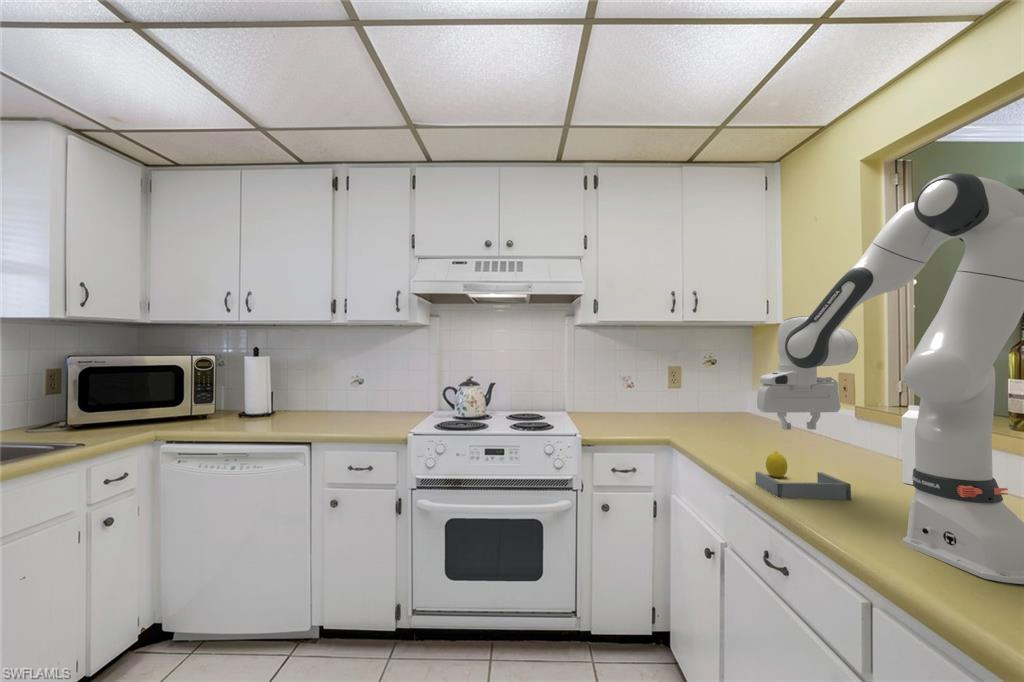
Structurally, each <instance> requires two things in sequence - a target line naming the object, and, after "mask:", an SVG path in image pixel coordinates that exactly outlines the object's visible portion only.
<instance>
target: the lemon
mask: <svg viewBox="0 0 1024 682" xmlns="http://www.w3.org/2000/svg"><path fill="white" fill-rule="evenodd" d="M765 468H766V471H767V473H768V474H769V475H770V476H772V477H773V478H776V479H779V478H781V477H784V476H785V475H786V474H787V472H788V462H787V460H786V458H785V456H783V455H782V454H781V453H779V452H778V451H774V452H772V453H770V454H769V455H768V456H767V458H766V461H765Z"/></svg>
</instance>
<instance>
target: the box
mask: <svg viewBox="0 0 1024 682" xmlns="http://www.w3.org/2000/svg"><path fill="white" fill-rule="evenodd" d="M816 474H817V475H816V476H817V482H782V481H781V482H780V481H778V480H777V479H774V477H773V478H772V477H770V476H769V475H767V474H765V473H763V472H761V471H755V484H756V485H757V484H758V485H759V487H760V486H761V487H760V488H762V489H763V488H764V489H763V490H765V489H766V490H767V491H766V490H765V491H766V492H768V493H769V492H770V493H769V494H771V493H772V494H771V495H773V496H774V495H775V496H774V497H776V496H777V497H780V498H779V499H782V498H781V497H784V498H783V499H798V498H803V500H805V499H806V500H809V499H810V500H832V501H833V500H835V501H852V491H851V490H852V488H851V487H852V484H851V483H849V482H847V481H844V480H841V479H839V478H836V477H834V476H832V475H829V474H827V473H824V472H822V471H821V472H820V471H819V472H816ZM758 485H757V486H758ZM777 497H776V498H777ZM785 497H786V498H785Z"/></svg>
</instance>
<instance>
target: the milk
mask: <svg viewBox="0 0 1024 682" xmlns="http://www.w3.org/2000/svg"><path fill="white" fill-rule="evenodd" d="M919 407H920V405H912V404H909V405H908V410H907V411H906V412H905V413H904V414H903V415H902V416H901V448H902V449H901V450H902V451H901V452H902V455H901V456H902V483H904V484H907V485H910V486H911V485H912V486H913V479H912V475H913V469H914V468H916V463H915V427H916V424H917V419H918V414H919Z"/></svg>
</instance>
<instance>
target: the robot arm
mask: <svg viewBox="0 0 1024 682" xmlns="http://www.w3.org/2000/svg"><path fill="white" fill-rule="evenodd" d="M952 239H958V240H960V241H961V242H964V244H965V248H964V249H965V250H964V254H963V256H962V258H961V261H960V263H959V265H958V267H957V269H956V272H955V273H954V276H953V278H952V281H951V283H950V285H949V288H948V290H947V292H946V294H945V297H944V299H943V301H942V302H941V303H942V304H941V305H940V307H939V310H938V311H937V313H936V315H935V317H934V318H933V320H932V321H931V323H930V325H929V326H928V328H927V329H926V331H925V332H924V334H923V336H922V338H921V339H920V341H919V342H918V344H917V346H916V348H915V350H914V351H913V354H912V355H911V357H910V359H909V360H908V362H907V364H906V365H905V368H904V370H903V377H904V378H903V379H904V383H905V384H906V386H907V388H908V389H909V390H910V392H912V393H913V394H914V395H915V396H916V397H918V398H920V400H919V406H920V407H919V414H918V419H917V424H916V427H915V463H916V468H914V469H913V475H912V479H913V485H912V486H913V487H914V488H915V489H914V495H913V497H912V500H911V501H910V504H909V512H908V521H907V522H908V523H907V530H906V531H907V532H906V536H905V537H903V538H902V542H901V544H902V545H903V544H904V545H903V546H905V545H906V547H907V546H908V548H910V547H911V548H910V549H912V548H913V549H912V550H914V549H915V551H917V552H919V553H921V554H924V555H927V556H929V557H931V558H934V559H936V560H939V561H941V562H944V563H946V564H948V565H949V566H953V567H955V568H957V569H960V570H963V571H965V572H967V573H970V574H972V575H974V576H977V577H980V578H981V579H985V580H990V581H996V582H1002V583H1008V584H1019V585H1024V521H1023V520H1022V519H1020V518H1019V517H1018V515H1016V514H1015V512H1013V511H1012V510H1011V509H1010V508H1009V507H1008V506H1007V505H1006V504H1005V503H1004V502H1003V501H1004V497H1003V495H1005V496H1008V495H1009V493H1007V492H1004V491H1008V490H1009V488H1007V487H1000V486H999V485H998V482H997V480H996V479H995V478H994V476H993V474H994V473H993V445H992V443H993V442H992V441H993V439H992V438H993V437H992V436H993V435H992V434H993V423H994V411H995V396H996V395H995V393H996V370H995V369H996V368H995V366H994V364H995V362H996V360H997V358H998V356H999V354H1000V353H1001V351H1002V350H1003V348H1004V347H1005V345H1006V344H1007V342H1008V340H1009V338H1010V337H1011V335H1012V334H1013V332H1014V331H1015V330H1016V327H1017V326H1018V324H1019V322H1020V320H1021V318H1022V316H1023V314H1024V191H1022V190H1019V189H1015V188H1012V187H1010V186H1009V185H1006V184H1004V183H1002V182H1001V181H998V180H994V179H990V178H987V177H982V176H981V177H980V176H976V175H974V174H971V173H964V172H962V173H961V172H957V173H956V172H954V173H953V172H952V173H946V174H942V175H939V176H937V177H935V178H934V179H932V180H930V181H928V182H927V183H926V184H925V185H924V186H923V187H922V188H921V189H920V191H919V192H918V194H917V196H916V198H915V201H912V202H909V203H906V204H905V205H903V206H902V207H901V208H900V209H899V210H898V211H897V212H896V213H895V214H893V216H892V217H891V218H889V220H888V221H887V222H886V224H885V225H883V227H882V228H881V230H879V232H878V234H876V236H875V237H874V239H873V241H872V242H871V243H870V245H869V246H868V247H867V249H866V250H865V252H864V253H863V254H862V256H861V257H860V258H858V261H857V262H855V264H854V265H853V266H852V267H850V269H849V270H848V271H847V272H846V273H845V274H844V275H842V277H841V278H840V279H838V281H837V283H835V285H834V286H832V288H831V290H829V292H828V293H827V295H825V297H824V298H823V299H822V300H821V302H820V303H819V304H818V306H817V307H816V308H815V309H814V310H813V312H811V314H810V315H808V316H807V315H806V316H805V315H801V316H795V317H794V316H793V317H789V318H786V319H784V320H783V321H781V322H780V324H779V328H778V332H777V352H778V354H779V361H778V367H777V368H778V370H776V371H773V372H770V373H766V374H764V375H761V376H759V383H760V384H761V385H760V386H759V387H758V390H757V397H756V405H757V409H758V410H759V411H760V412H762V413H769V414H771V413H774V414H775V413H777V414H776V415H777V416H776V417H778V419H779V421H780V422H781V428H782V430H784V431H787V430H792V424H791V422H788V420H787V419H786V417H787V413H789V414H790V413H810V416H811V419H810V420H809V421H807V422H806V429H808V430H809V431H810V430H816V429H817V423H818V422H819V419H820V418H821V413H838V412H839V411H840V410H841V400H840V394H839V383H838V381H837V380H836V379H835V378H833V377H831V376H830V377H829V376H828V377H822V376H821V377H818V370H817V369H818V367H831V366H841V365H845V364H849V363H850V362H852V361H853V360H854V359H855V358H856V355H857V353H858V350H859V343H858V342H859V341H858V340H857V338H856V336H855V335H854V334H853V332H851V331H850V330H848V329H844V328H840V327H841V326H842V324H843V323H844V322H845V321H846V319H848V318H849V316H850V315H851V314H852V313H853V311H854V310H856V308H858V306H861V304H863V303H864V302H867V301H868V300H870V299H872V298H875V297H877V296H880V295H884V294H886V293H891V292H894V291H897V290H900V289H901V288H904V287H905V286H906V285H907V284H908V283H910V282H912V280H913V279H914V278H915V277H917V275H918V274H919V273H920V272H921V271H922V270H923V269H924V267H925V265H926V264H927V263H928V261H930V259H931V257H932V256H933V255H934V254H935V252H936V251H937V249H938V248H939V247H940V246H941V245H943V243H946V242H947V241H951V240H952Z"/></svg>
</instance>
